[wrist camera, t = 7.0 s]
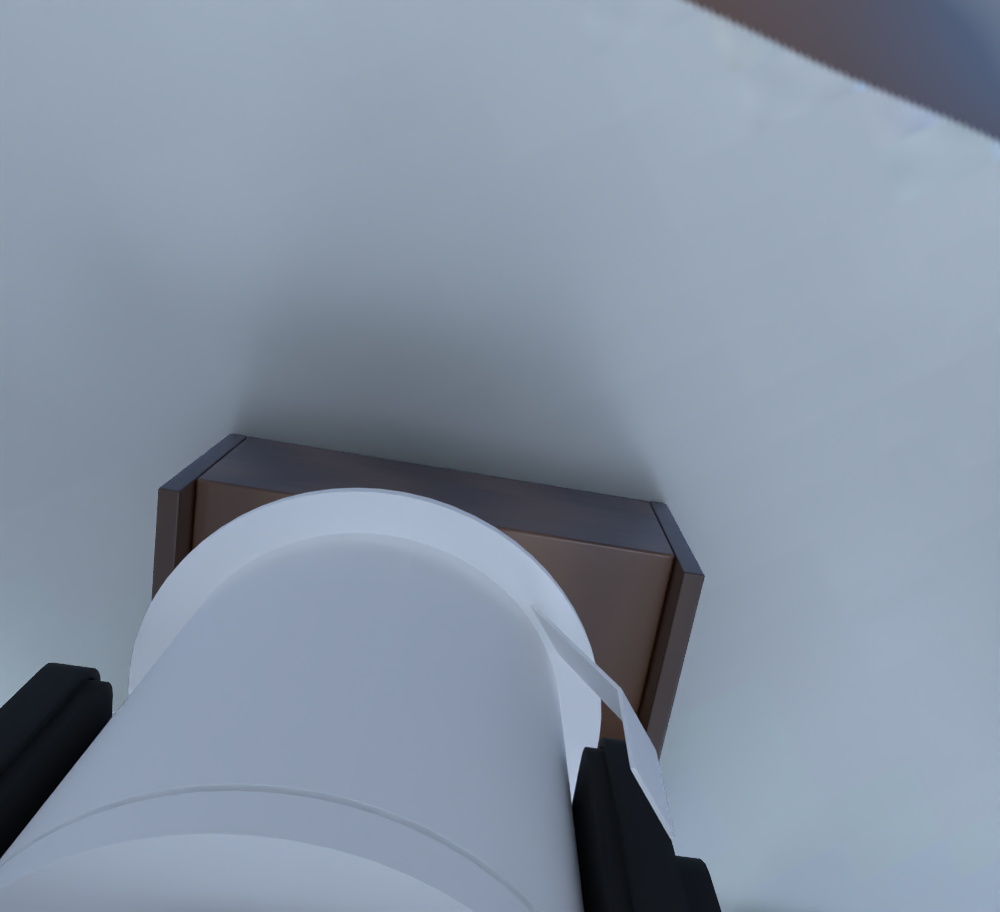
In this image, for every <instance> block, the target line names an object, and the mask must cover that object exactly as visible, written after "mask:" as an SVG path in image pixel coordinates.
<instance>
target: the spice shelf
mask: <svg viewBox="0 0 1000 912" xmlns="http://www.w3.org/2000/svg"><path fill="white" fill-rule="evenodd" d="M338 488H374V489H386V490H393V491H400V492H406V493H411V494H415V495H419V496H423V497H427V498H431V499H434V500H437V501H440V502H443V503H446V504H449V505H452V506H454V507H456V508H459V509H461V510H463V511H465V512H468V513H470V514H472V515H474V516H476V517H478V518H480V519H481V520H483V521H485V522H487V523H489V524H490V525H492V526H494V527H496V528H497V529H499V530H500V531H501V532H503V533H504V534H506V535H507V536H509V537H510V538H511V539H513V540H514V541H516V542H517V543H518V544H519V545H520V546H522V547H523V548H524V549H525V550H526V551H527V552H529V553H530V554H531V555H532V556H533V557H534V558H535V559H536V560H537V561H538V562H539V563H540V564H541V565H542V566H543V567H544V568H545V569H546V570H547V571H548V572H549V574H550V575H551V576H552V577H553V579H554V580H555V581H556V582H557V584H558V585H559V586H560V588H561V589H562V590H563V592H564V593H565V595H566V596H567V598H568V599H569V601H570V603H571V604H572V606H573V607H574V609H575V611H576V613H577V615H578V617H579V619H580V621H581V623H582V625H583V627H584V629H585V632H586V635H587V637H588V640H589V643H590V646H591V648H592V652H593V656H594V660H595V664H596V665H597V666H599V667H600V668H601V669H602V670H603V671H604V672H605V673H606V674H607V675H608V676H609V677H610V678H611V679H612V680H613V681H614V682H615V683H616V684H617V685H618V686H619V687H621V689H622V690H623V692H624V694H625V696H626V698H627V699H628V701H629V703H630V705H631V707H632V708H633V710H634V712H635V714H636V715H637V717H638V719H639V721H640V723H641V724H642V726H643V728H644V730H645V732H646V733H647V735H648V737H649V739H650V740H651V742H652V744H653V746H654V748H655V749H656V752H657V757H658V761H659V759H660V755H661V751H662V747H663V742H664V738H665V734H666V730H667V726H668V722H669V718H670V714H671V710H672V706H673V702H674V698H675V694H676V690H677V686H678V682H679V678H680V674H681V670H682V666H683V662H684V658H685V654H686V649H687V645H688V641H689V637H690V633H691V629H692V625H693V621H694V617H695V613H696V609H697V605H698V601H699V597H700V593H701V589H702V585H703V581H704V577H705V576H704V574H703V572H702V570H701V568H700V566H699V564H698V563H697V561H696V559H695V557H694V555H693V553H692V551H691V549H690V548H689V546H688V544H687V542H686V540H685V538H684V536H683V534H682V533H681V531H680V529H679V527H678V525H677V523H676V521H675V519H674V518H673V516H672V514H671V512H670V510H669V508H668V506H667V505H666V504H661V503H655V502H650V503H649V502H647V501H641V500H635V499H628V498H622V497H616V496H610V495H604V494H598V493H592V492H585V491H579V490H573V489H567V488H561V487H555V486H548V485H542V484H536V483H530V482H524V481H518V480H511V479H505V478H499V477H493V476H487V475H481V474H474V473H468V472H462V471H456V470H450V469H444V468H437V467H431V466H425V465H419V464H413V463H407V462H401V461H394V460H388V459H382V458H376V457H370V456H364V455H357V454H351V453H345V452H339V451H333V450H327V449H320V448H314V447H308V446H302V445H296V444H290V443H283V442H277V441H271V440H265V439H259V438H253V437H248V438H247V436H242V435H236V434H229V435H228V436H227V437H226V438H224V439H223V440H222V441H220V442H219V443H218V444H216V445H215V446H214V447H212V448H211V449H210V450H208V451H207V452H206V453H204V454H203V455H202V456H201V457H199V458H198V459H197V460H195V461H194V462H193V463H191V464H190V465H189V466H187V467H186V468H185V469H183V470H182V471H181V472H180V473H178V474H177V475H176V476H174V477H173V478H172V479H170V480H169V481H168V482H166V483H165V484H164V485H162V486H161V487H160V488H159V489H158V506H157V522H156V538H155V555H154V571H153V588H152V601H153V599H154V597H155V595H156V594H157V592H158V591H159V589H160V588H161V586H162V585H163V583H164V582H165V580H166V579H167V578H168V576H169V575H170V574H171V573H172V572H173V571H174V569H175V568H176V567H177V566H178V565H179V564H180V562H181V561H182V560H183V559H184V558H185V557H186V556H187V555H188V554H189V553H190V552H191V551H192V550H193V549H195V548H196V547H197V546H198V545H199V544H200V543H201V542H202V541H203V540H205V539H206V538H207V537H209V536H210V535H211V534H213V533H214V532H215V531H217V530H218V529H219V528H221V527H222V526H224V525H226V524H227V523H229V522H231V521H232V520H234V519H236V518H237V517H239V516H241V515H243V514H245V513H247V512H249V511H252V510H254V509H256V508H258V507H260V506H262V505H265V504H268V503H271V502H274V501H277V500H280V499H282V498H286V497H290V496H294V495H298V494H302V493H306V492H313V491H320V490H327V489H338ZM602 737H604V738H611V739H618V740H626V739H625V733H624V727H623V721H622V720H621V719H620V718H619V717H618V716H617V715H616V714H615V713H614V712H613V711H612V710H611V709H610V708H609V707H608V706H607V705H606V704H605V703H604V702H603V700H602V699H601V725H600V736H599V741H598V744H599V742H600V739H601V738H602ZM597 748H598V746H597Z"/></svg>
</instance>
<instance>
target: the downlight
mask: <svg viewBox="0 0 1000 912" xmlns="http://www.w3.org/2000/svg"><path fill="white" fill-rule="evenodd" d="M601 699H602V700H603V702H604V703H605V704H606V705H607V706H608V707H609V708H610V709H611V710H612V711H613V712H614V713H615V714H616V715H617V716H618V717H619V718H620V719H621V720H622V721H623V727H624V733H625V739H626V745H627V751H628V757H629V763H630V769H631V771H632V773H633V774H634V776H635V778H636V780H637V781H638V783H639V785H640V787H641V788H642V790H643V792H644V794H645V795H646V797H647V799H648V801H649V802H650V804H651V806H652V808H653V809H654V811H655V813H656V815H657V816H658V818H659V820H660V822H661V823H662V825H663V827H664V829H665V830H666V832H667V834H668V836H669V837H670V839H672V838H674V837H675V835H674V830H673V826H672V821H671V817H670V812H669V807H668V803H667V798H666V794H665V789H664V784H663V780H662V775H661V771H660V766H659V761H658V757H657V752H656V749H655V748H654V746H653V744H652V742H651V740H650V739H649V737H648V735H647V733H646V732H645V730H644V728H643V726H642V724H641V723H640V721H639V719H638V717H637V715H636V714H635V712H634V710H633V708H632V707H631V705H630V703H629V701H628V699H627V698H626V696H625V694H624V692H623V690H622V689H621V687H619V686H618V685H617V684H616V683H615V682H614V681H613V680H612V679H611V678H610V677H609V676H608V675H607V674H606V673H605V672H604V671H603V670H602V669H601V668H600V667H599V666H597V665H596V664H595V660H594V656H593V652H592V648H591V646H590V643H589V640H588V637H587V635H586V632H585V629H584V627H583V625H582V623H581V621H580V619H579V617H578V615H577V613H576V611H575V609H574V607H573V606H572V604H571V603H570V601H569V599H568V598H567V596H566V595H565V593H564V592H563V590H562V589H561V588H560V586H559V585H558V584H557V582H556V581H555V580H554V579H553V577H552V576H551V575H550V574H549V572H548V571H547V570H546V569H545V568H544V567H543V566H542V565H541V564H540V563H539V562H538V561H537V560H536V559H535V558H534V557H533V556H532V555H531V554H530V553H529V552H527V551H526V550H525V549H524V548H523V547H522V546H520V545H519V544H518V543H517V542H516V541H514V540H513V539H511V538H510V537H509V536H507V535H506V534H504V533H503V532H501V531H500V530H499V529H497V528H496V527H494V526H492V525H490V524H489V523H487V522H485V521H483V520H481V519H480V518H478V517H476V516H474V515H472V514H470V513H468V512H465V511H463V510H461V509H459V508H456V507H454V506H452V505H449V504H446V503H443V502H440V501H437V500H434V499H431V498H427V497H423V496H419V495H415V494H411V493H406V492H400V491H393V490H386V489H374V488H338V489H327V490H320V491H313V492H306V493H302V494H298V495H294V496H290V497H286V498H282V499H280V500H277V501H274V502H271V503H268V504H265V505H262V506H260V507H258V508H256V509H254V510H252V511H249V512H247V513H245V514H243V515H241V516H239V517H237V518H236V519H234V520H232V521H231V522H229V523H227V524H226V525H224V526H222V527H221V528H219V529H218V530H217V531H215V532H214V533H213V534H211V535H210V536H209V537H207V538H206V539H205V540H203V541H202V542H201V543H200V544H199V545H198V546H197V547H196V548H195V549H193V550H192V551H191V552H190V553H189V554H188V555H187V556H186V557H185V558H184V559H183V560H182V561H181V562H180V564H179V565H178V566H177V567H176V568H175V569H174V571H173V572H172V573H171V574H170V575H169V576H168V578H167V579H166V580H165V582H164V583H163V585H162V586H161V588H160V589H159V591H158V592H157V594H156V595H155V597H154V599H153V601H152V602H151V604H150V606H149V608H148V610H147V612H146V614H145V616H144V619H143V621H142V624H141V626H140V629H139V631H138V634H137V637H136V641H135V645H134V649H133V652H132V658H131V665H130V671H129V689H128V698H127V699H126V700H125V702H124V703H123V704H122V706H121V707H120V708H119V709H118V711H117V712H116V713H115V714H114V716H113V717H112V718H111V719H110V721H109V722H108V723H107V725H106V726H105V727H104V728H103V730H102V731H101V732H100V733H99V735H98V736H97V737H96V738H95V740H94V741H93V742H92V744H91V745H90V746H89V747H88V749H87V750H86V751H85V752H84V754H83V755H82V756H81V757H80V759H79V760H78V761H77V763H76V764H75V765H74V766H73V768H72V769H71V770H70V771H69V773H68V774H67V775H66V776H65V778H64V779H63V780H62V781H61V783H60V784H59V785H58V787H57V788H56V789H55V790H54V792H53V793H52V794H51V795H50V797H49V798H48V799H47V800H46V802H45V803H44V804H43V806H42V807H41V808H40V809H39V811H38V812H37V813H36V814H35V816H34V817H33V818H32V819H31V821H30V822H29V823H28V825H27V826H26V827H25V828H24V830H23V831H22V832H21V833H20V835H19V836H18V837H17V838H16V840H15V841H14V842H13V844H12V845H11V846H10V847H9V849H8V850H7V851H6V852H5V854H4V855H3V856H2V857H1V859H0V912H584V905H583V896H582V888H581V879H580V870H579V862H578V853H577V844H576V836H575V827H574V819H573V810H572V801H573V796H574V791H575V786H576V781H577V776H578V771H579V766H580V761H581V756H582V752H583V750H584V748H585V747H591V748H597V746H598V741H599V736H600V725H601Z"/></svg>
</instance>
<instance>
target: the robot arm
mask: <svg viewBox="0 0 1000 912" xmlns="http://www.w3.org/2000/svg"><path fill="white" fill-rule="evenodd" d="M112 699H113V692H112V686H111V684H110V683H109V682H103V681H101V680H100V675H99V671H98V670H96V669H95V668H88V667H81V666H73V665H66V664H59V663H48V664H47V665H45V666H44V667H42V668H41V669H40V670H39V671H38V672H37V673H36V674H35V675H34V676H33V677H32V678H31V679H30V680H29V681H28V682H27V683H26V684H25V685H24V686H23V687H22V688H21V689H20V690H19V691H18V692H17V693H16V694H15V695H14V696H13V697H12V698H11V699H10V700H9V701H7V702H6V703H5V704H4V705H3V706H2V707H1V708H0V859H1V857H2V856H3V855H4V854H5V852H6V851H7V850H8V849H9V847H10V846H11V845H12V844H13V842H14V841H15V840H16V838H17V837H18V836H19V835H20V833H21V832H22V831H23V830H24V828H25V827H26V826H27V825H28V823H29V822H30V821H31V819H32V818H33V817H34V816H35V814H36V813H37V812H38V811H39V809H40V808H41V807H42V806H43V804H44V803H45V802H46V800H47V799H48V798H49V797H50V795H51V794H52V793H53V792H54V790H55V789H56V788H57V787H58V785H59V784H60V783H61V781H62V780H63V779H64V778H65V776H66V775H67V774H68V773H69V771H70V770H71V769H72V768H73V766H74V765H75V764H76V763H77V761H78V760H79V759H80V757H81V756H82V755H83V754H84V752H85V751H86V750H87V749H88V747H89V746H90V745H91V744H92V742H93V741H94V740H95V738H96V737H97V736H98V735H99V733H100V732H101V731H102V730H103V728H104V727H105V726H106V725H107V723H108V722H109V721H110V719H111V718H112ZM572 810H573V819H574V827H575V836H576V844H577V853H578V862H579V870H580V879H581V888H582V896H583V905H584V912H721V909H720V906H719V903H718V900H717V896H716V893H715V890H714V887H713V883H712V880H711V877H710V874H709V871H708V869H707V867H706V864H705V863H704V862H703V861H702V860H701V859H697V858H689V857H681V856H675V853H674V849H673V845H672V841H671V839H670V837H669V836H668V834H667V832H666V830H665V829H664V827H663V825H662V823H661V822H660V820H659V818H658V816H657V815H656V813H655V811H654V809H653V808H652V806H651V804H650V802H649V801H648V799H647V797H646V795H645V794H644V792H643V790H642V788H641V787H640V785H639V783H638V781H637V780H636V778H635V776H634V774H633V773H632V771H631V769H630V763H629V757H628V751H627V745H626V740H618V739H611V738H604V737H602V738H601V739H600V742H599V744H598V748H591V747H585V748H584V750H583V752H582V756H581V761H580V766H579V771H578V776H577V781H576V786H575V791H574V796H573V801H572Z"/></svg>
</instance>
